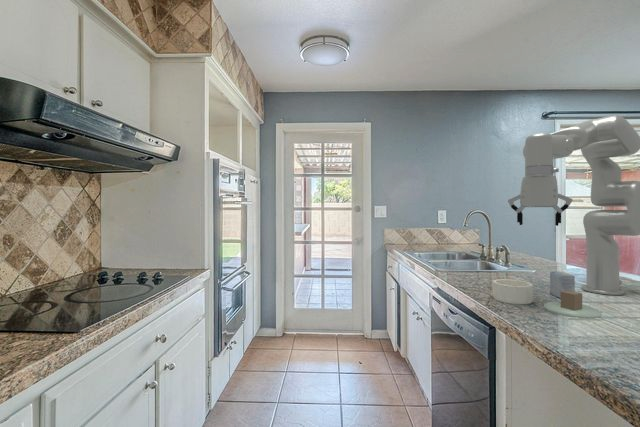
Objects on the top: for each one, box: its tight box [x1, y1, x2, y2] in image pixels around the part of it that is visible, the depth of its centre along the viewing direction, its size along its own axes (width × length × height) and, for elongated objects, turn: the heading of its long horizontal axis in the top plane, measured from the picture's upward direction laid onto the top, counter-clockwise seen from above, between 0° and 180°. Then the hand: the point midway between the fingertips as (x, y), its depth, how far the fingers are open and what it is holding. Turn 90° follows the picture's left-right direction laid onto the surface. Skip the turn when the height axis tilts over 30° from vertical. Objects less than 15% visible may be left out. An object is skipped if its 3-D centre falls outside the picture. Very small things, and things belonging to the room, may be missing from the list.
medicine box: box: [549, 271, 576, 299], centre depth 116 cm, size 8×4×9 cm, turn 168°
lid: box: [543, 290, 602, 319], centre depth 100 cm, size 14×14×6 cm
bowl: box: [492, 278, 534, 306], centre depth 113 cm, size 12×12×6 cm
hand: (538, 225), depth 103 cm, fingers open, 9 cm apart
